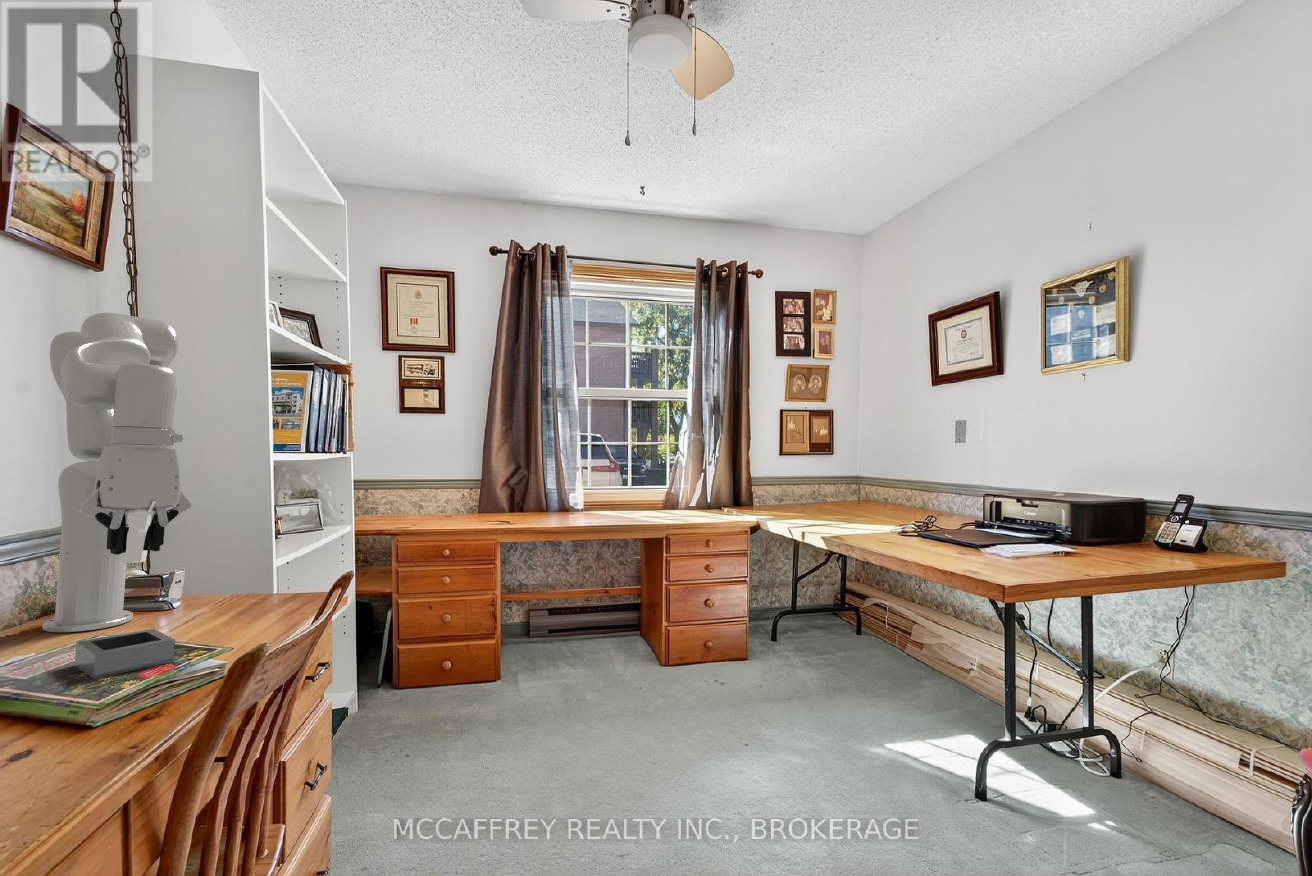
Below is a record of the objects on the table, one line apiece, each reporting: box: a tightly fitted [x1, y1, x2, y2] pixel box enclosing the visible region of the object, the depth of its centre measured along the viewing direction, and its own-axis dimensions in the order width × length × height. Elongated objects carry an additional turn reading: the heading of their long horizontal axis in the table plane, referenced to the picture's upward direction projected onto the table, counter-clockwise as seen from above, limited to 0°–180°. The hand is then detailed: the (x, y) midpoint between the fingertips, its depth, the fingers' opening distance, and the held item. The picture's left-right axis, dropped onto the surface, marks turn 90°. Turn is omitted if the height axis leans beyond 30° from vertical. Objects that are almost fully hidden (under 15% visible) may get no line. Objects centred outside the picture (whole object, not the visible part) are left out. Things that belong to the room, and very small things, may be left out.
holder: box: [74, 628, 176, 680], centre depth 93 cm, size 10×10×4 cm
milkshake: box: [120, 501, 156, 564], centre depth 95 cm, size 4×5×10 cm
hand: (135, 550), depth 95 cm, fingers closed on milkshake, 4 cm apart
